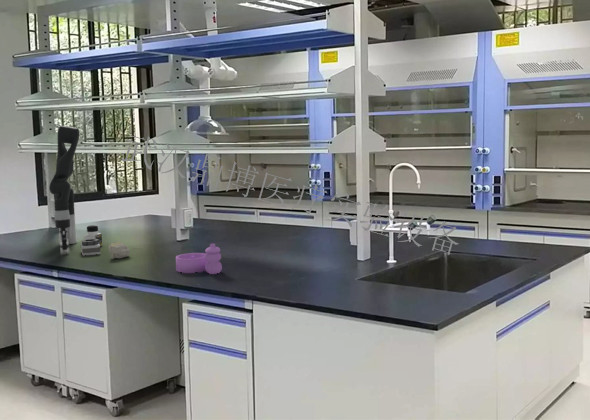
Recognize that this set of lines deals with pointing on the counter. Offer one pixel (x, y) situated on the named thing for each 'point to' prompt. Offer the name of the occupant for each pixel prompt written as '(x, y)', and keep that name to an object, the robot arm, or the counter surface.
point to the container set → (200, 261)
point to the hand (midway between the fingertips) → (64, 248)
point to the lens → (63, 252)
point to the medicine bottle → (93, 234)
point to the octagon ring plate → (90, 247)
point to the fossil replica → (118, 250)
